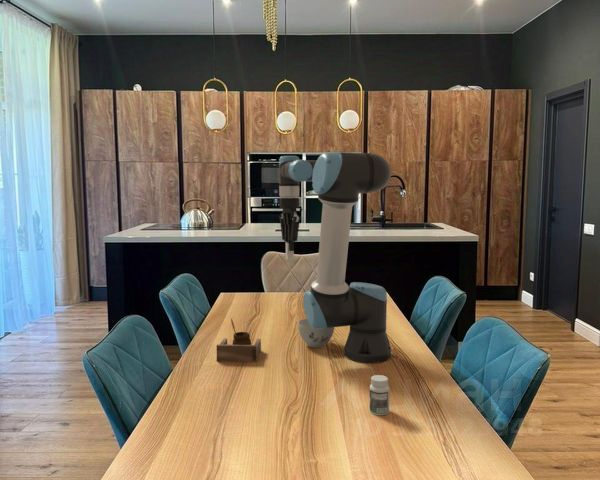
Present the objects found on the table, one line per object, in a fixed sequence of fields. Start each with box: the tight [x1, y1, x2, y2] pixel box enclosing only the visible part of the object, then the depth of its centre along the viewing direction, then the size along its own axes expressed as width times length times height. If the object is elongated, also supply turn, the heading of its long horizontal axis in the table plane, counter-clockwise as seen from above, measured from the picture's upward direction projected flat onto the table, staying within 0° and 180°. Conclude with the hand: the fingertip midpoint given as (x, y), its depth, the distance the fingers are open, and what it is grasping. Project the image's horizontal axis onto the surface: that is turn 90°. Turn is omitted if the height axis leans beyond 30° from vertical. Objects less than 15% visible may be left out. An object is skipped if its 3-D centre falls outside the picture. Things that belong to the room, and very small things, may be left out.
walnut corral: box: [216, 338, 262, 363], centre depth 163 cm, size 11×12×5 cm
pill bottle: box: [369, 374, 390, 416], centre depth 123 cm, size 5×5×8 cm
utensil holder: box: [230, 318, 252, 345], centre depth 164 cm, size 6×6×12 cm
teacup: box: [297, 318, 335, 349], centre depth 175 cm, size 15×12×8 cm
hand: (289, 259), depth 195 cm, fingers closed
